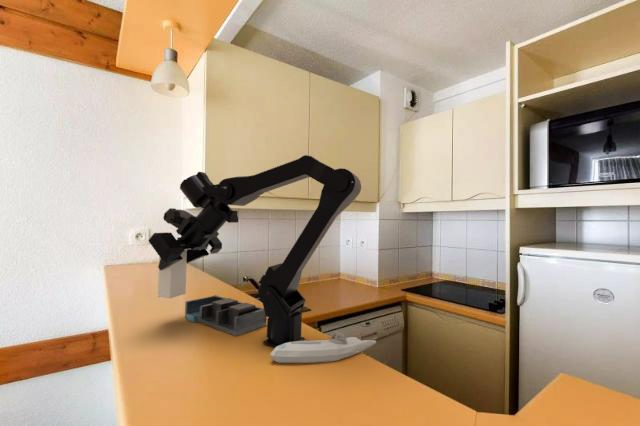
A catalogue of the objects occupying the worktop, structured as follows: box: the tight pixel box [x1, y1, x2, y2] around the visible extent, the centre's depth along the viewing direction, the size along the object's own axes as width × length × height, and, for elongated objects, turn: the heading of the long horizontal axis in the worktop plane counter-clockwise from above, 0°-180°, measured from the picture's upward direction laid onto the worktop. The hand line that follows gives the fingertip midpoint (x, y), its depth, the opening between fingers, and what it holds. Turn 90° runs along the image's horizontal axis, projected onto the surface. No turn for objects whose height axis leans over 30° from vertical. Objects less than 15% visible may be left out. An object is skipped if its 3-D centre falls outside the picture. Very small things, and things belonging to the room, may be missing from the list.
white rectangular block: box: [157, 250, 188, 299], centre depth 75 cm, size 4×5×11 cm
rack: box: [184, 294, 267, 337], centre depth 78 cm, size 20×10×5 cm, turn 54°
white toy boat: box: [269, 331, 377, 364], centre depth 61 cm, size 23×7×4 cm, turn 116°
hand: (168, 267), depth 76 cm, fingers closed on white rectangular block, 5 cm apart
